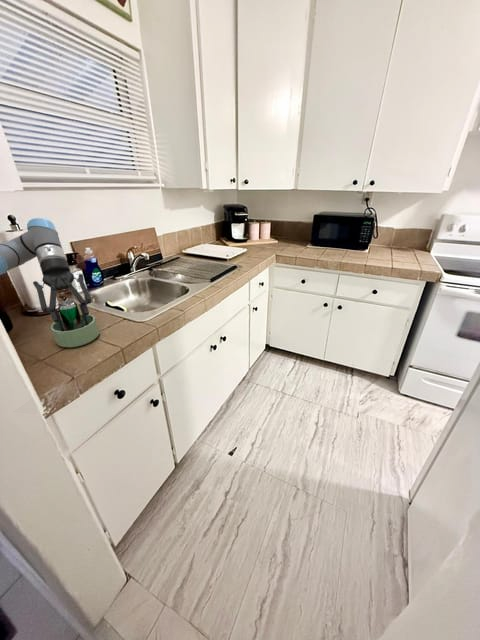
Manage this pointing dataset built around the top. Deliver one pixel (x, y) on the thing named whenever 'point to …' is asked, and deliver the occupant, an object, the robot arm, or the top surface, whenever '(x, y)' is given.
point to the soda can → (70, 315)
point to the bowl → (76, 333)
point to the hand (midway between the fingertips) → (75, 327)
